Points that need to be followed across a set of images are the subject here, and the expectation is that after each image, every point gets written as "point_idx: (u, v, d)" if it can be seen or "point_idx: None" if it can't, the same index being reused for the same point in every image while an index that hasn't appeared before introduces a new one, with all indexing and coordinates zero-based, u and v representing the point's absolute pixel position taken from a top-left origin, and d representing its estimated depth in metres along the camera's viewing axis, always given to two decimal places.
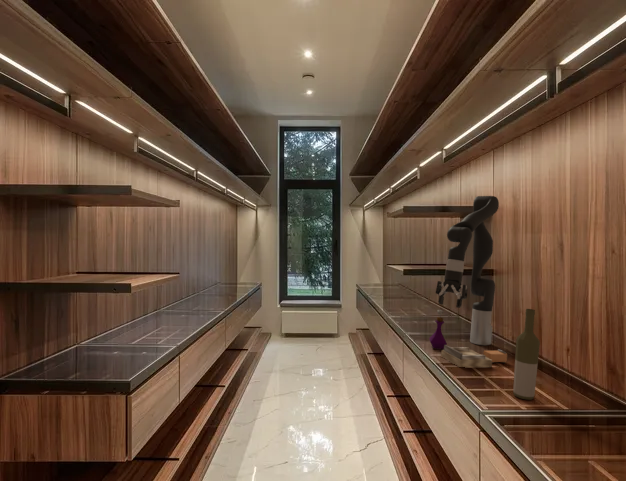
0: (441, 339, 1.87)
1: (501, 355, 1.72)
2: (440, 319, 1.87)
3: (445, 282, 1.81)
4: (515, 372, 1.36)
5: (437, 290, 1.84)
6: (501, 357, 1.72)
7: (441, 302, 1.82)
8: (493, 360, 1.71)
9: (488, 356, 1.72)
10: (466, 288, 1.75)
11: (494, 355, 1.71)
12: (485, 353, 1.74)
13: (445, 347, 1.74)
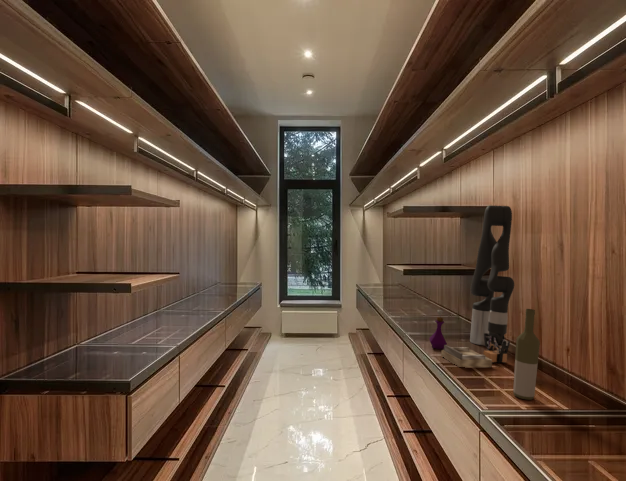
0: (441, 339, 1.87)
1: None
2: (440, 319, 1.87)
3: (489, 333, 1.77)
4: (515, 372, 1.36)
5: (485, 343, 1.79)
6: None
7: None
8: (493, 360, 1.71)
9: (488, 356, 1.72)
10: (506, 344, 1.68)
11: (494, 355, 1.71)
12: (485, 353, 1.74)
13: (445, 347, 1.74)
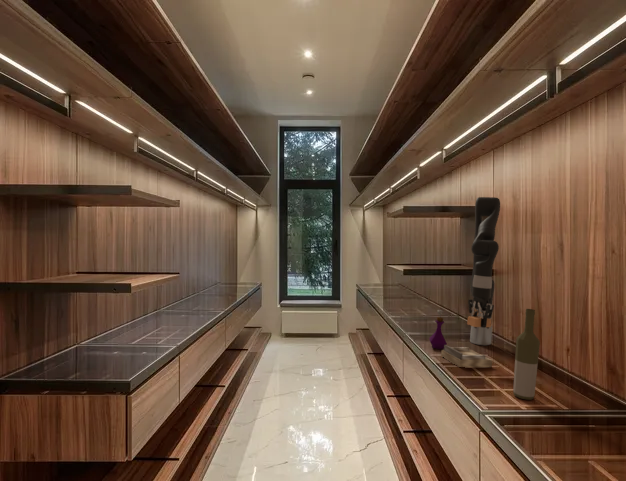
0: (441, 339, 1.87)
1: None
2: (440, 319, 1.87)
3: (474, 299, 1.73)
4: (515, 372, 1.36)
5: (470, 309, 1.76)
6: None
7: None
8: (477, 325, 1.68)
9: (472, 321, 1.69)
10: (491, 308, 1.65)
11: (478, 320, 1.68)
12: (469, 319, 1.71)
13: (445, 347, 1.74)
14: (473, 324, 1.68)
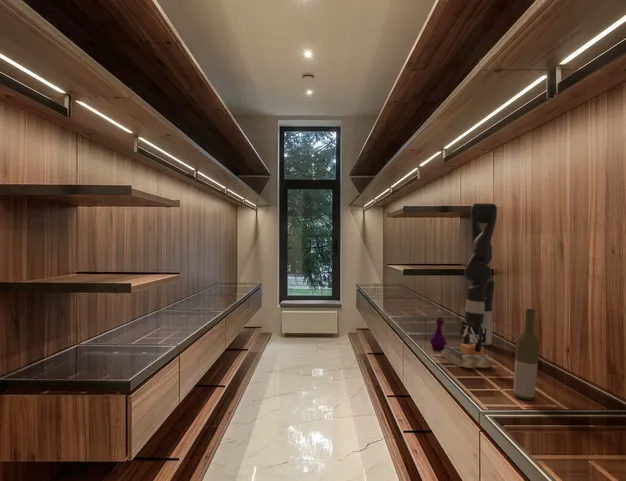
0: (441, 339, 1.87)
1: None
2: (440, 319, 1.87)
3: (467, 323, 1.74)
4: (515, 372, 1.36)
5: (461, 331, 1.77)
6: None
7: None
8: (469, 353, 1.68)
9: (464, 349, 1.70)
10: (483, 332, 1.64)
11: (470, 348, 1.68)
12: (461, 346, 1.72)
13: (445, 347, 1.74)
14: (465, 352, 1.69)
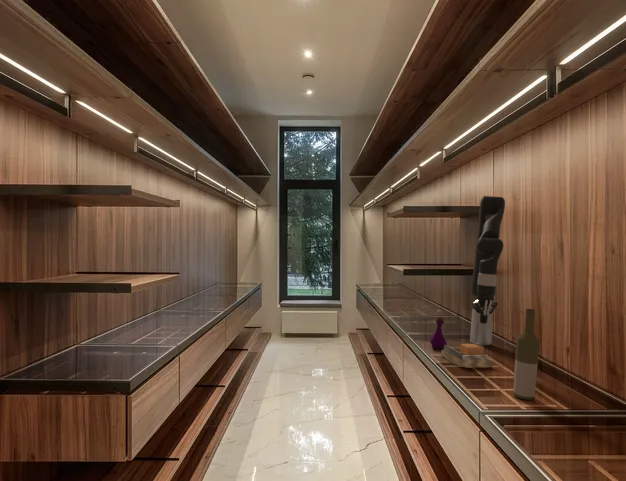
0: (441, 339, 1.87)
1: (477, 348, 1.69)
2: (440, 319, 1.87)
3: None
4: (515, 372, 1.36)
5: None
6: (478, 351, 1.69)
7: None
8: (469, 353, 1.68)
9: (464, 349, 1.70)
10: (475, 306, 1.71)
11: (470, 348, 1.68)
12: (461, 346, 1.72)
13: (445, 347, 1.74)
14: (465, 352, 1.69)
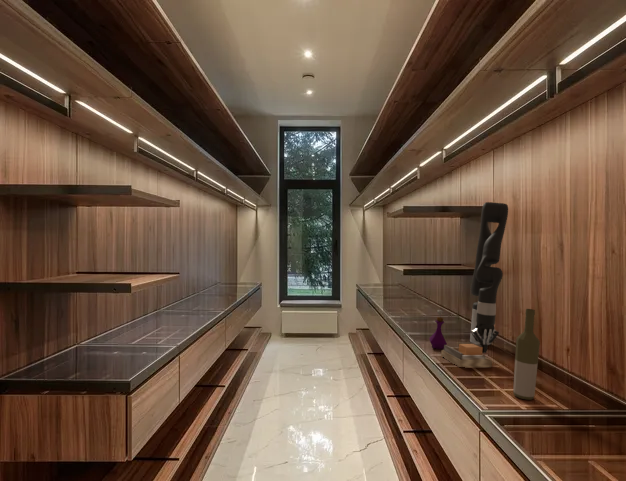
0: (441, 339, 1.87)
1: (476, 348, 1.69)
2: (440, 319, 1.87)
3: None
4: (515, 372, 1.36)
5: None
6: (477, 351, 1.69)
7: None
8: (468, 353, 1.68)
9: (463, 349, 1.69)
10: (473, 334, 1.71)
11: (469, 348, 1.68)
12: (460, 346, 1.71)
13: (445, 347, 1.74)
14: (464, 352, 1.69)
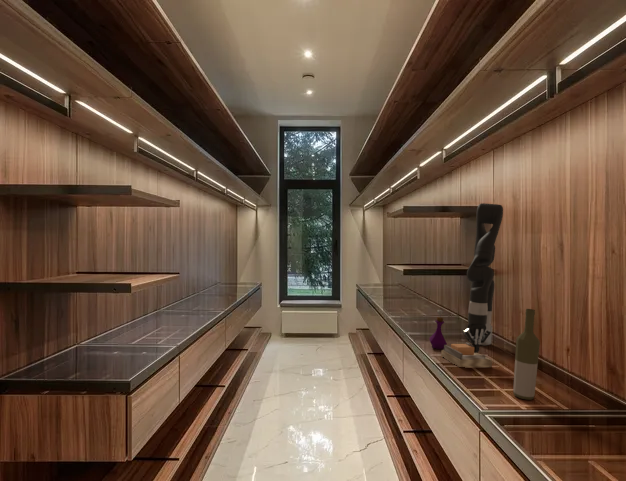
0: (441, 339, 1.87)
1: (468, 348, 1.68)
2: (440, 319, 1.87)
3: None
4: (515, 372, 1.36)
5: None
6: (468, 351, 1.68)
7: None
8: None
9: (455, 349, 1.69)
10: (465, 334, 1.70)
11: (461, 348, 1.67)
12: (452, 346, 1.70)
13: (445, 347, 1.74)
14: None
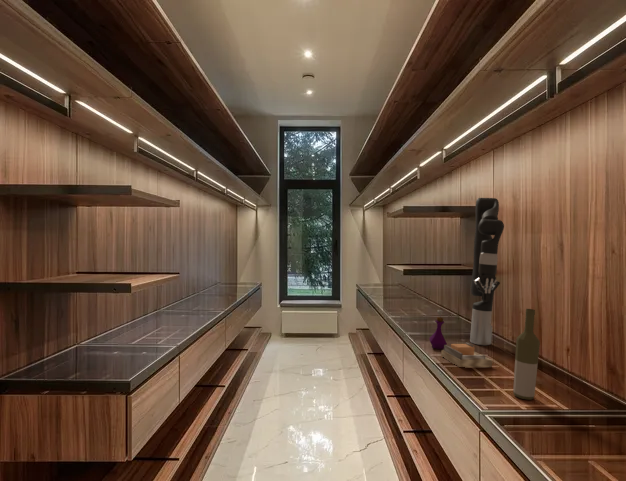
0: (441, 339, 1.87)
1: (468, 348, 1.68)
2: (440, 319, 1.87)
3: None
4: (515, 372, 1.36)
5: None
6: (468, 351, 1.68)
7: None
8: None
9: (455, 349, 1.69)
10: (476, 284, 1.80)
11: (461, 348, 1.67)
12: (452, 346, 1.70)
13: (445, 347, 1.74)
14: None
